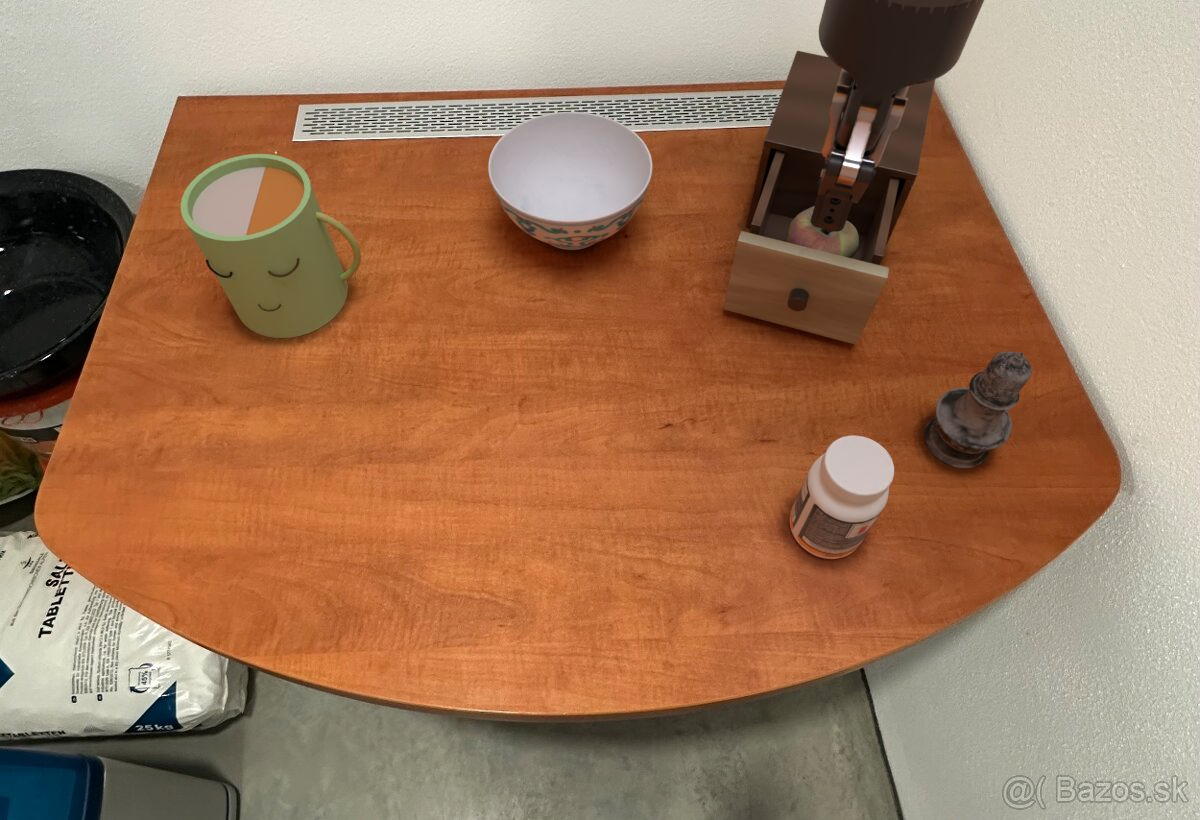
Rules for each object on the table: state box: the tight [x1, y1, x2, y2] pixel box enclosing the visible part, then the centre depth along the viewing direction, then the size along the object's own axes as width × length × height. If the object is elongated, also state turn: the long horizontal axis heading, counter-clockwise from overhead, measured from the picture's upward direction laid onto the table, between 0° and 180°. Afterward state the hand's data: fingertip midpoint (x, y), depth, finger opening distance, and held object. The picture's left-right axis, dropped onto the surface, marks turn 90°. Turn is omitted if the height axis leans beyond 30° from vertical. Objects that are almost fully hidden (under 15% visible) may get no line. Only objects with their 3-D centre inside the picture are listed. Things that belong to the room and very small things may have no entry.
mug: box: [180, 153, 362, 339], centre depth 69 cm, size 13×10×12 cm
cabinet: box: [745, 50, 936, 249], centre depth 78 cm, size 14×13×10 cm
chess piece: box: [923, 351, 1033, 469], centre depth 61 cm, size 6×6×12 cm
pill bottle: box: [789, 435, 895, 560], centre depth 58 cm, size 6×6×10 cm
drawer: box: [722, 150, 900, 346], centre depth 71 cm, size 15×12×9 cm
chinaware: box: [487, 111, 653, 251], centre depth 76 cm, size 15×15×8 cm
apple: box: [786, 207, 859, 258], centre depth 72 cm, size 6×8×6 cm
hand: (827, 221), depth 54 cm, fingers closed
